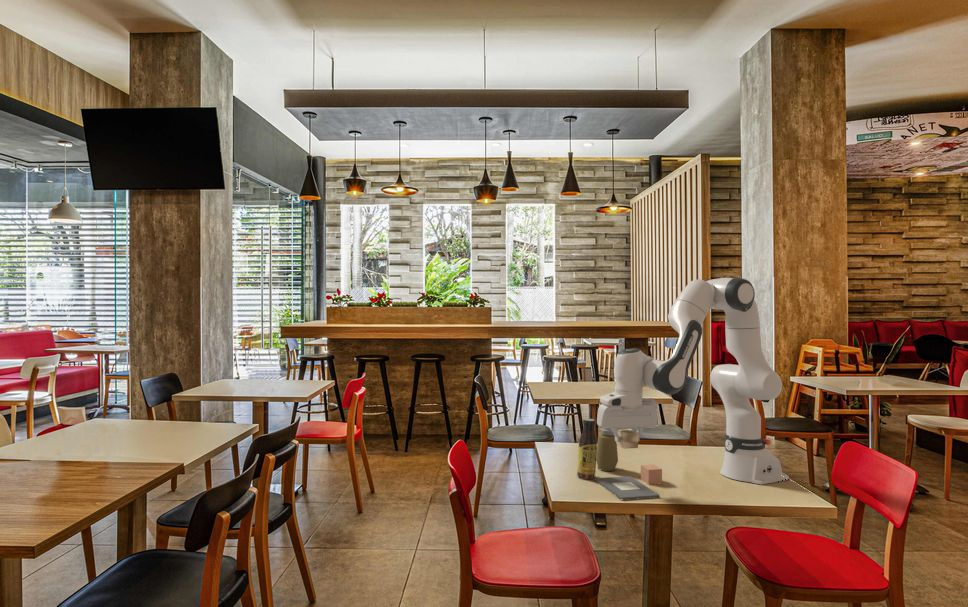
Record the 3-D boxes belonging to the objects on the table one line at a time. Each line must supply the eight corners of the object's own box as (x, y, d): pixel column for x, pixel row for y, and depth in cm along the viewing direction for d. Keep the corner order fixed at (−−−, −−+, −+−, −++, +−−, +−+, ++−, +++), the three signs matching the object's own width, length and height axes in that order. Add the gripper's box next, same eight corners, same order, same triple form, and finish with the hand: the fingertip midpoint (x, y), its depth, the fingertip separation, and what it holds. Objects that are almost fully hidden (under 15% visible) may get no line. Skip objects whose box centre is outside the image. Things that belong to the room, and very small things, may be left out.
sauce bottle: (582, 480, 177) (583, 421, 177) (573, 474, 183) (575, 417, 183) (599, 479, 179) (600, 421, 179) (590, 473, 185) (592, 417, 185)
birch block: (630, 443, 173) (630, 428, 173) (638, 448, 168) (638, 432, 168) (616, 444, 172) (616, 429, 172) (623, 448, 167) (624, 432, 167)
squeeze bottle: (619, 467, 192) (620, 418, 192) (615, 474, 185) (616, 423, 185) (597, 464, 195) (599, 416, 195) (592, 470, 188) (594, 420, 188)
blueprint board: (630, 478, 180) (630, 475, 180) (659, 497, 163) (659, 494, 163) (595, 480, 177) (595, 477, 177) (621, 500, 160) (621, 497, 160)
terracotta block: (653, 479, 181) (654, 464, 181) (661, 483, 176) (662, 469, 176) (640, 479, 179) (640, 465, 179) (648, 484, 175) (648, 469, 175)
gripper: (651, 396, 175) (650, 437, 175) (595, 397, 171) (594, 439, 171) (662, 399, 169) (661, 442, 169) (604, 401, 165) (602, 444, 165)
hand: (627, 441), depth 170 cm, fingers closed on birch block, 5 cm apart
